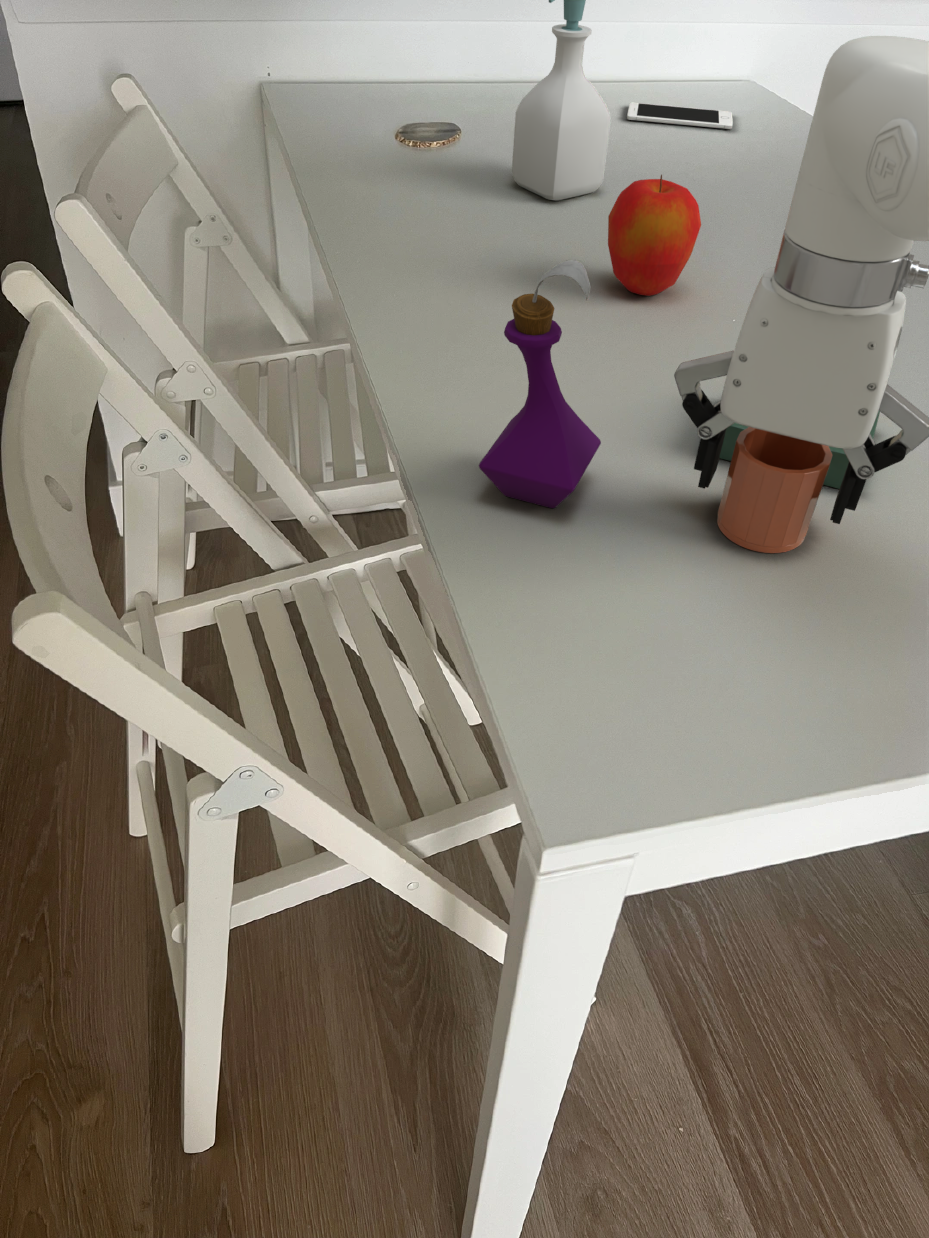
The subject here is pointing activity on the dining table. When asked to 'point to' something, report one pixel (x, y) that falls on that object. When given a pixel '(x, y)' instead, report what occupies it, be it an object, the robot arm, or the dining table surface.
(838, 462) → the push button base
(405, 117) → the dining table surface
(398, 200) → the dining table surface
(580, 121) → the soap bottle
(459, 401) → the dining table surface
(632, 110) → the cell phone
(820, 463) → the cup
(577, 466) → the perfume bottle
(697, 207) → the apple
